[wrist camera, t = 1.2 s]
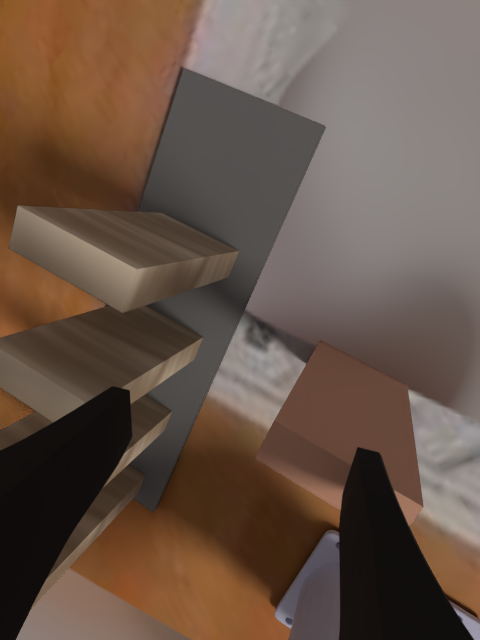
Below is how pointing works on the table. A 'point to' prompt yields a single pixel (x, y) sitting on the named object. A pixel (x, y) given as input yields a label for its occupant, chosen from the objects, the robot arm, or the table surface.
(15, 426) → the domino
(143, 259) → the domino
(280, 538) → the table surface
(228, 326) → the grey flat rectangular board
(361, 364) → the domino
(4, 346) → the domino
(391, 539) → the robot arm
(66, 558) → the domino
